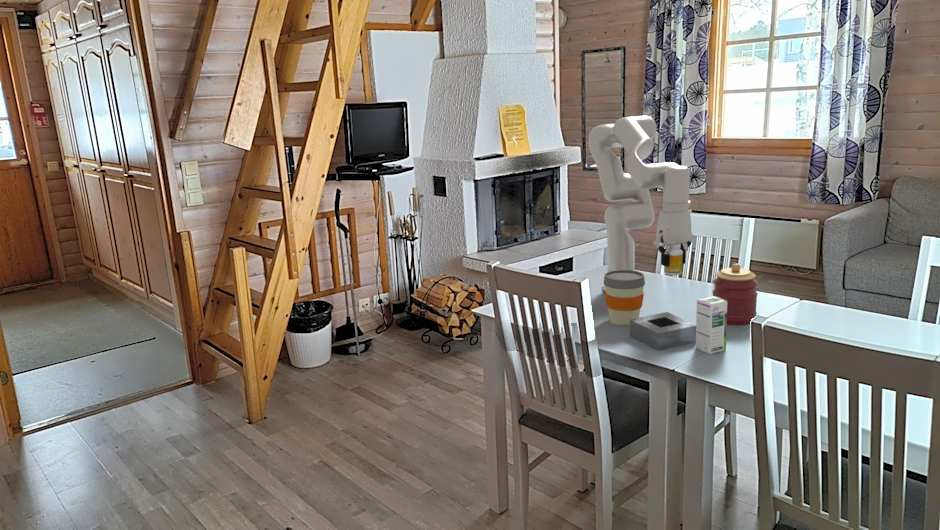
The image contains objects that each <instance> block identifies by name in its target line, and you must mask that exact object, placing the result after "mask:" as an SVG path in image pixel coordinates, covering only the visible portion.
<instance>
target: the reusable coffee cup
mask: <svg viewBox="0 0 940 530" xmlns="http://www.w3.org/2000/svg"><path fill="white" fill-rule="evenodd" d="M604 285H605V290H606V291H604V300H605V306H606V307H607V311H608V317H609V319H608V320H609V322H610V323H611V324H613V325H617V326H630V319H635V318H640V314H641V313H640V312H641V308H642V307H643V302H644V296H645V291H644V286H645V285H646V281H645V274H644V273H643V272H641V271H636V270H635V271H633V270H615V271H610V272H608V271H607V272H606V273H604V277H603V286H604Z"/></svg>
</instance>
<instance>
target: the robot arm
mask: <svg viewBox="0 0 940 530" xmlns="http://www.w3.org/2000/svg"><path fill="white" fill-rule="evenodd" d="M657 129H658V128H657V124H656V121H655V120H654V119H653V117H651V116H648V115H636V116H635V115H634V116H633V115H632V116H623V117H620V118H619V119H617V120H616V121H615V122H614V123H606V124H600V125H596V126H594V127H592V129H590V132H589V135H588V149H589V151H590V154H591V158H592V159H593V160H594V163H595V165H596V168H597V172H598V176H599V182H600V185H601V190H602V194H603V196H604V198H605V200H607V201H608V202H622V201H632V202H622V203H616V204H615V203H614V204H611V205H610V206H608V207H607V208H606V210H605V212H604V223H605V229H606V239H607V242H606V244H607V248H606V249H607V272H610V271H615V270H633V271H636V270H635V263H636V262H635V261H636V260H635V259H636V258H635V255H636V253H635V251H636V246H635V240H634V238H633V237H632V234H630V232H629V231H631V230H637V229H638V230H639V229H645V228H649V227H650V226H652V224H654V221H655V210H654V207H653V202H652V197H651V193H650V189H655V188H662V189H663V190H662V211H660V212H659V215H658V219H657V226H656V232H655V233H656V236H655V239H654V241H653V242H652V246H654V248H656V249H657V250H658V252H659V253H660V257H661V258H660V264H661V266H663V267H664V266H666V267H669V260H670V255H669V254H668V252H669V248H670V245H673V244H679V243H681V248H680V249H681V250H682V251H683V260H682V265H685V264H686V259H687V251H688V250H689V247H690V246H691V245H692V243H693V242H694V241H695V240H696V237H695V235H694V234H693V233H692V219H691V212H690V210H689V207H690V206H691V201H690V200H689V199H690V182H691V181H690V180H691V179H690V178H691V170H690V168H689V167H688V166H686V165H679V164H678V163H676V162H671V161H668V162H656V163H654V162H653V163H644V162H643V161H644V160H645V159H647V158H648V157H649V156H651V153H652V152H653V150H654V148H655V147H654V146H655V145H654V144H655V143H654V141H653V139H654V138H655V136H656V134H657V132H658V130H657ZM615 148H617V149H618V148H623V149H624V150H625V152H626V153H627V158H626V169H627V173H626V172H624V170H623V166H622V161H621V160H620V158H619V157H618V156H617V155H616V153H615V152H613V151H612V150H611V149H615ZM605 291H606V290H605V285H604V284H603V292H605Z"/></svg>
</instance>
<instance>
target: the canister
mask: <svg viewBox="0 0 940 530" xmlns="http://www.w3.org/2000/svg"><path fill="white" fill-rule="evenodd" d="M715 275H716V277H715V278H714V279H713V280H712V283H713V285H714V287H713V289H712V291H711V292H712V296H714V297H719V298H722V299H724V300H726V301H727V325H733V326H734V325H735V326H737V325H738V326H739V325H741V326H742V325H743V326H744V325H749V324H751V323H750V321H751V319H752V318H754V317H755V316H756V317H757V312H758V311H757V299H758V296H759V295H758V294H759V293H758V291H757V287H758V286H759V282H758V281H757V280H756V279H755V278H756V276H757V275H756V274H755V273H754V272H752V271H751V270H749V269H747V268H744V267H741V265H740V264H739V263H732V265H731V267H724V268H722V269H720V270H719V271H717V272H716V273H715Z"/></svg>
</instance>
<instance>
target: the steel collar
mask: <svg viewBox="0 0 940 530" xmlns="http://www.w3.org/2000/svg"><path fill="white" fill-rule="evenodd" d="M629 336H630V337H632V338H634V339H635V340H638V341H639V342H642V343H643V344H645V345H647V346H649V347H651V348H653V349H655V350H656V351H661V350H665V349H666V350H667V349H671V348H675V347H679V346H684V345H689V344H692V343H696V323H694V322H691V321H689V320H686V319H684V318H682V317H680V316H678V315H675V314H673V313H670V312H669V311H665V312H660V313H655V314H650V315H645V316H639V318H635V319H630V325H629Z"/></svg>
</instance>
